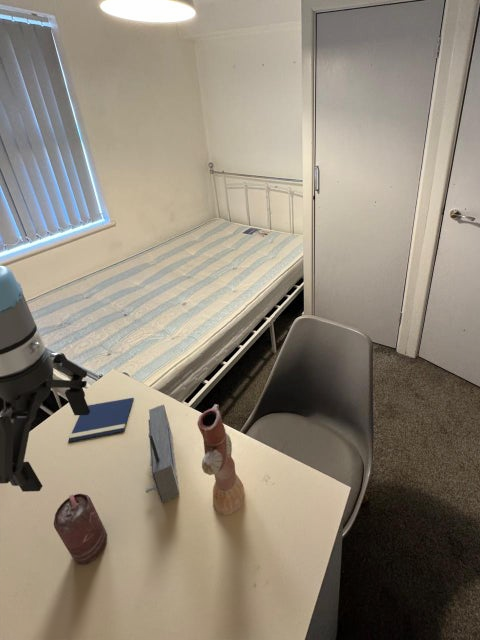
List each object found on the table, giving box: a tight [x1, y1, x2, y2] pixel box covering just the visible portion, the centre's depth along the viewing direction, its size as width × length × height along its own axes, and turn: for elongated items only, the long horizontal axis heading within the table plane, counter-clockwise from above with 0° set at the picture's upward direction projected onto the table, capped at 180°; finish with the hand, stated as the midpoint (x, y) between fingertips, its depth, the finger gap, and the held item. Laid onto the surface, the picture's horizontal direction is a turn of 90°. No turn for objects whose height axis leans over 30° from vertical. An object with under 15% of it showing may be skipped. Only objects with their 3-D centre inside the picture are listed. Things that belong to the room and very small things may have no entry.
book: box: [67, 397, 135, 443], centre depth 93 cm, size 14×11×1 cm
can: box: [53, 493, 108, 565], centre depth 64 cm, size 6×6×14 cm
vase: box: [196, 403, 245, 516], centre depth 68 cm, size 10×7×30 cm
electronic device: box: [145, 404, 180, 503], centre depth 77 cm, size 17×7×20 cm, turn 26°
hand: (60, 447), depth 59 cm, fingers open, 13 cm apart
